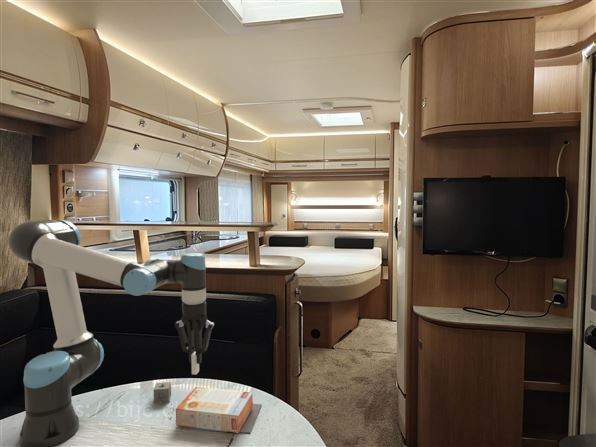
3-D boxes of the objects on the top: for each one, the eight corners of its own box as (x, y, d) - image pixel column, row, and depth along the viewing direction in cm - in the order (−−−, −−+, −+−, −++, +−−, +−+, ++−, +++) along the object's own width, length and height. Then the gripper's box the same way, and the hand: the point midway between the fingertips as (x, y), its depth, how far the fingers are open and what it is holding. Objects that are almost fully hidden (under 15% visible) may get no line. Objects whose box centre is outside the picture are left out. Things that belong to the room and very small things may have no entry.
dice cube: (153, 403, 134) (153, 389, 134) (156, 396, 139) (156, 382, 138) (168, 402, 135) (168, 388, 134) (171, 395, 140) (170, 381, 139)
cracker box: (175, 426, 120) (238, 434, 116) (174, 408, 119) (238, 414, 115) (196, 403, 133) (253, 409, 129) (195, 386, 133) (253, 391, 129)
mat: (180, 428, 119) (180, 427, 119) (200, 401, 135) (200, 400, 135) (250, 433, 117) (250, 432, 117) (261, 405, 132) (261, 404, 132)
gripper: (217, 299, 127) (218, 368, 128) (179, 297, 129) (181, 366, 130) (209, 305, 120) (210, 379, 121) (169, 303, 121) (171, 376, 123)
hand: (195, 372), depth 126 cm, fingers closed
